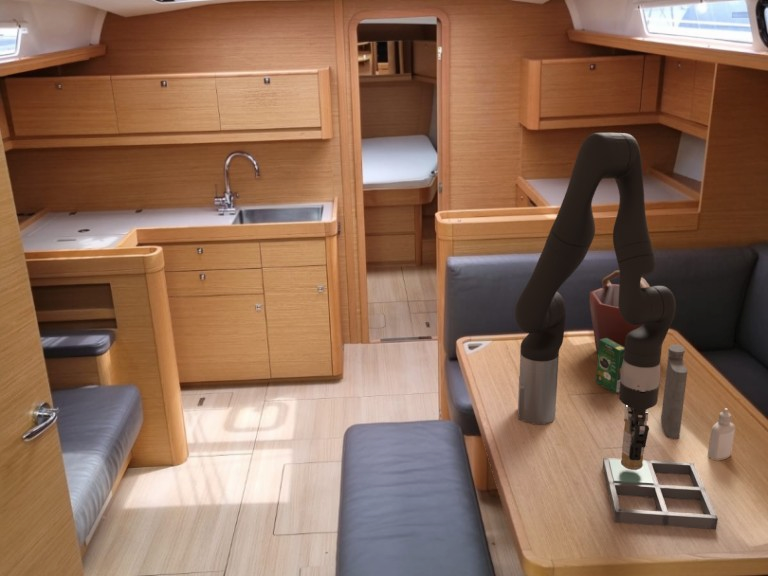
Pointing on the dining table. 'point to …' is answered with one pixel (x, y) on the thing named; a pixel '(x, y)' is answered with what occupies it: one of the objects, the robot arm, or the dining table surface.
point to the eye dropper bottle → (721, 437)
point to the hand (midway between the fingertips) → (632, 452)
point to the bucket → (609, 312)
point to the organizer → (657, 493)
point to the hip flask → (674, 392)
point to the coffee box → (609, 364)
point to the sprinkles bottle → (626, 447)
